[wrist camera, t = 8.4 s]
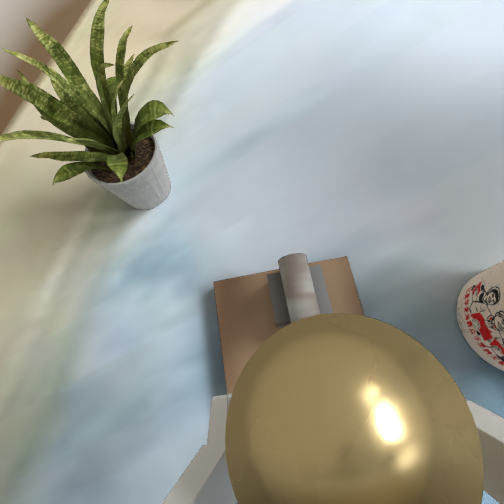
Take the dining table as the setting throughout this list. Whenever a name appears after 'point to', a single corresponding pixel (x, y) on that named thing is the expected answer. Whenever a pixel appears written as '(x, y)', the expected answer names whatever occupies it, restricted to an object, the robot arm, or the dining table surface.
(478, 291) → the teacup with lid
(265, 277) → the shaft rig
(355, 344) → the brass door knob
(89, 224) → the dining table surface
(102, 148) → the house plant
